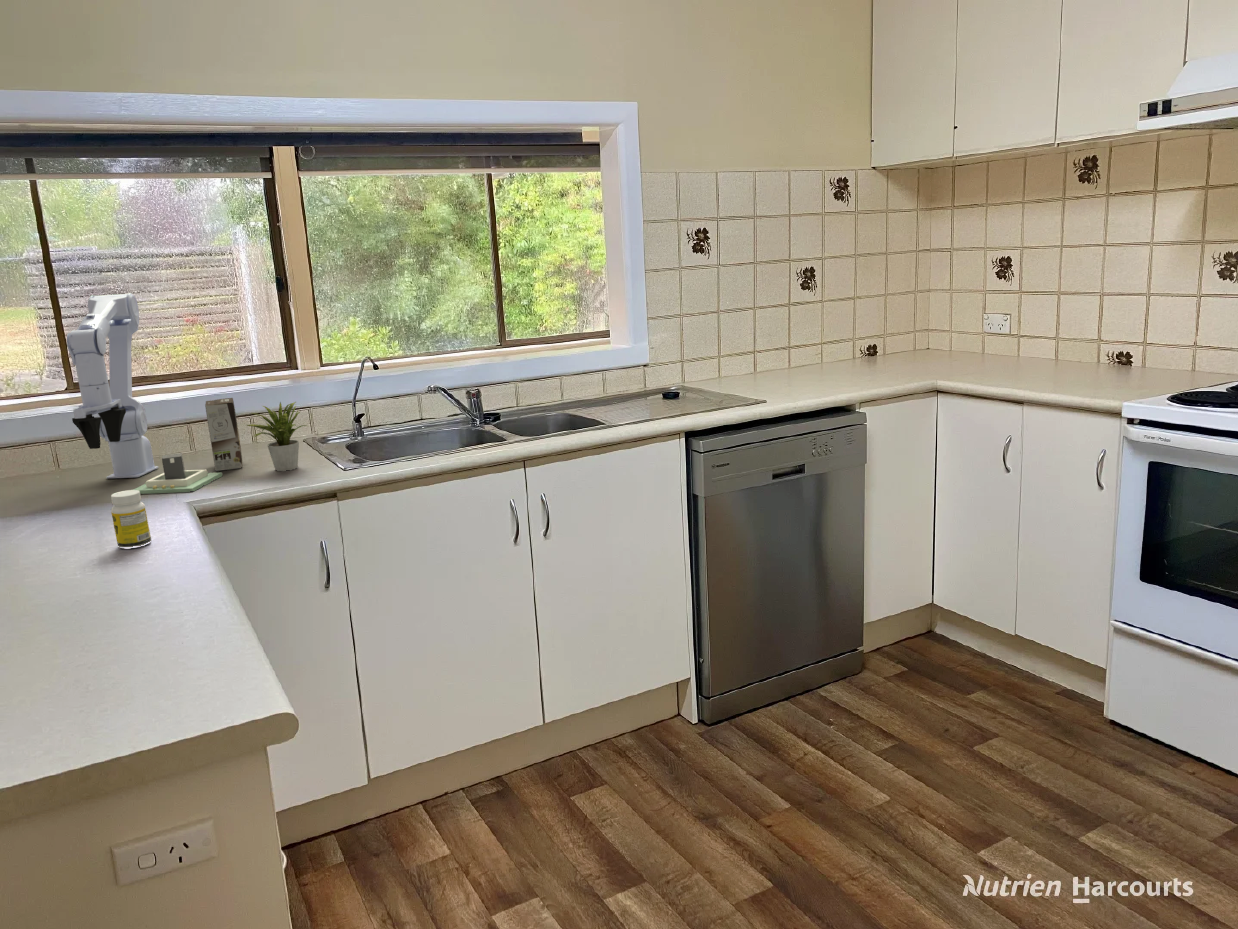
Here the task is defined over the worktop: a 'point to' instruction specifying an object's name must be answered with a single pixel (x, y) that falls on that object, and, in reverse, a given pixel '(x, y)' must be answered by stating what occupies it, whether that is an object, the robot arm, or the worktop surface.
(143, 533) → the supplement bottle
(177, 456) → the plug block
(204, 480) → the socket board
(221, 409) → the coffee box
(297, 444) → the house plant
